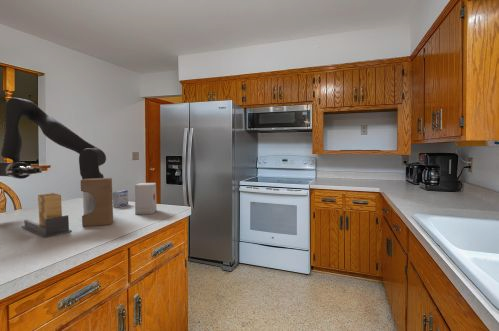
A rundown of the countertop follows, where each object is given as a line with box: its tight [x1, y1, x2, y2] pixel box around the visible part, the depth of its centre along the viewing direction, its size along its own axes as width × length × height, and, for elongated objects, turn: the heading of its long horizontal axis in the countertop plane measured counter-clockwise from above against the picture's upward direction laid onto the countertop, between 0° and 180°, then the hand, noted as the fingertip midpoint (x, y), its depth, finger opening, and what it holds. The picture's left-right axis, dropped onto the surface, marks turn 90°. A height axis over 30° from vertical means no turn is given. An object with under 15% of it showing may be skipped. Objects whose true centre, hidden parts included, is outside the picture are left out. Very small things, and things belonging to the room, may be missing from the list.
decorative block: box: [80, 177, 114, 228], centre depth 118 cm, size 11×6×20 cm, turn 104°
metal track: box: [21, 215, 72, 239], centre depth 111 cm, size 25×9×7 cm, turn 56°
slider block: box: [37, 192, 63, 227], centre depth 108 cm, size 8×5×14 cm, turn 56°
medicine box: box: [112, 189, 129, 208], centre depth 157 cm, size 8×4×9 cm, turn 168°
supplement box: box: [134, 182, 157, 215], centre depth 141 cm, size 9×9×15 cm
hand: (32, 171), depth 116 cm, fingers closed
